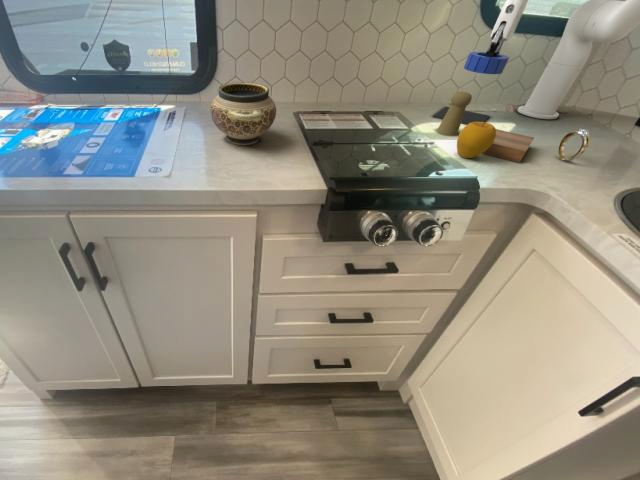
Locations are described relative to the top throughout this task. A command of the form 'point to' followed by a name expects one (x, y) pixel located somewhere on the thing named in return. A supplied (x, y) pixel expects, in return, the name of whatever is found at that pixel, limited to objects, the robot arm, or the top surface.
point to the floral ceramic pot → (243, 112)
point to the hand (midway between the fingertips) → (486, 65)
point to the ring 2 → (584, 146)
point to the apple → (475, 139)
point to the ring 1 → (486, 63)
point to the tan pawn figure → (455, 114)
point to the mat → (467, 116)
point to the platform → (509, 145)
